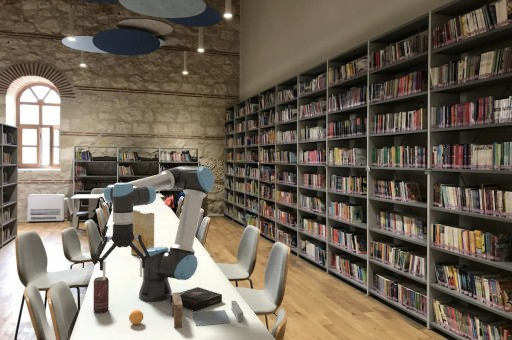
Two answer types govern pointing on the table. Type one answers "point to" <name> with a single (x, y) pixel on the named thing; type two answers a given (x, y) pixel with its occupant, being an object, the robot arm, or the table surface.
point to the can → (101, 295)
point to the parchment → (143, 230)
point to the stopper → (237, 311)
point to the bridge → (177, 309)
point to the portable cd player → (199, 298)
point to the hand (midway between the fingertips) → (122, 277)
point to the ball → (136, 317)
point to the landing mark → (211, 317)
